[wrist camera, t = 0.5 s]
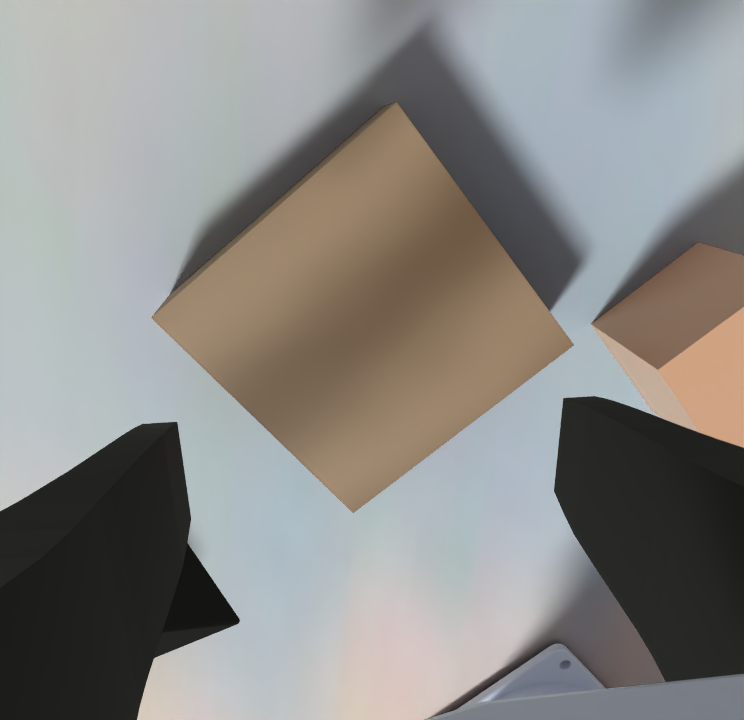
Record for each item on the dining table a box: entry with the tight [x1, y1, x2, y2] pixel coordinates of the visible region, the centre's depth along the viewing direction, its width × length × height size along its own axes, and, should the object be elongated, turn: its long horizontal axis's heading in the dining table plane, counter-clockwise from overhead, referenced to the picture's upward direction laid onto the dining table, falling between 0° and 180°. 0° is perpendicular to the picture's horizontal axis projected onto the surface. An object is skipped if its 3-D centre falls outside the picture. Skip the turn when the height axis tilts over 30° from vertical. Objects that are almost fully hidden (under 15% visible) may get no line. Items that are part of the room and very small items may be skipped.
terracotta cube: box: [591, 242, 744, 448], centre depth 20 cm, size 4×4×4 cm
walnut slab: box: [152, 102, 574, 513], centre depth 20 cm, size 9×9×3 cm
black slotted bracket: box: [154, 543, 240, 658], centre depth 22 cm, size 12×7×5 cm, turn 113°
